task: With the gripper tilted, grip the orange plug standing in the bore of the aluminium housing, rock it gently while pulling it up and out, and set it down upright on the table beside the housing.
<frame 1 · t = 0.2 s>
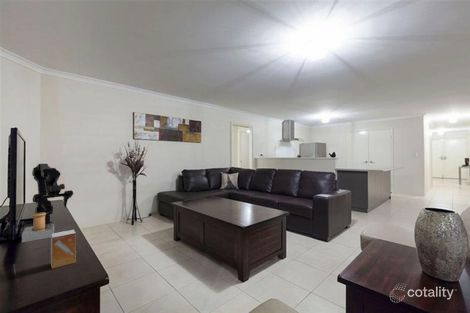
hand: (56, 208, 131), 15 cm above the tv stand, tool tilted 35°, fingers open, 9 cm apart
small box: (63, 263, 94), on the tv stand
housing: (39, 236, 126), on the tv stand
plug: (39, 225, 126), in the housing
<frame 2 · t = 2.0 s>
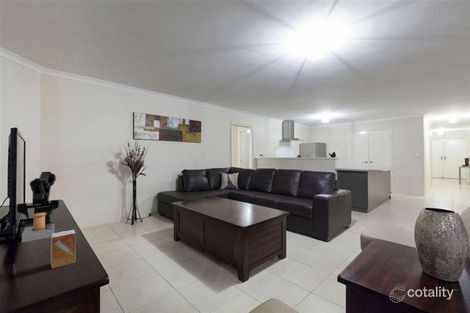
hand: (39, 217, 128), 10 cm above the tv stand, tool tilted 45°, fingers open, 9 cm apart
nothing on the tv stand moved.
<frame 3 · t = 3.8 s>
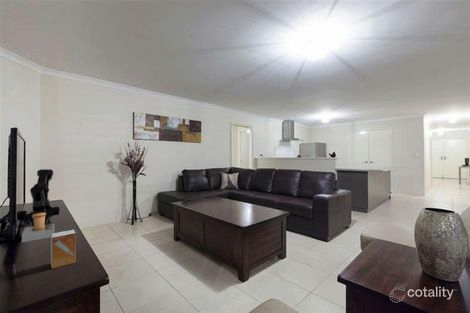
hand: (39, 225, 125), 7 cm above the tv stand, tool tilted 45°, fingers closed on plug, 5 cm apart
plug: (39, 225, 126), in the housing, touching gripper
everything else where it was.
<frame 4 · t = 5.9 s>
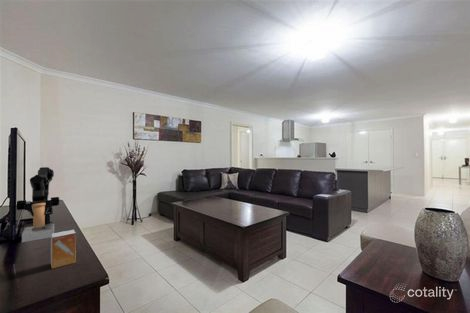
hand: (39, 215, 125), 12 cm above the tv stand, tool tilted 45°, fingers closed on plug, 5 cm apart
plug: (39, 214, 126), point 12 cm above the tv stand, touching gripper
everything else where it was.
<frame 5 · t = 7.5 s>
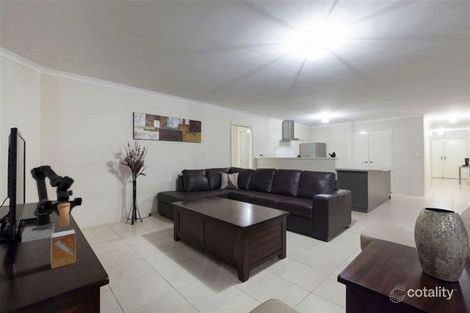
hand: (64, 214, 130), 11 cm above the tv stand, tool tilted 45°, fingers closed on plug, 5 cm apart
plug: (64, 214, 131), point 11 cm above the tv stand, touching gripper
everything else where it was.
when the fingers open (8 cm above the tv stand, at t = 8.5 s): plug drops 1 cm, on the tv stand.
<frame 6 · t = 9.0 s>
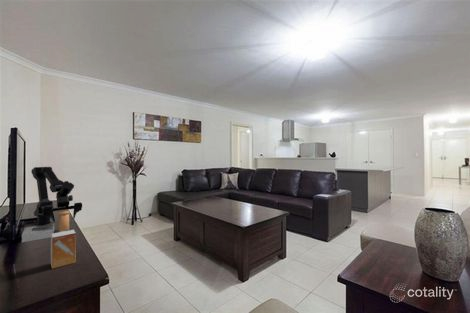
hand: (64, 220, 130), 8 cm above the tv stand, tool tilted 45°, fingers open, 9 cm apart
plug: (64, 222, 131), on the tv stand
everything else where it was.
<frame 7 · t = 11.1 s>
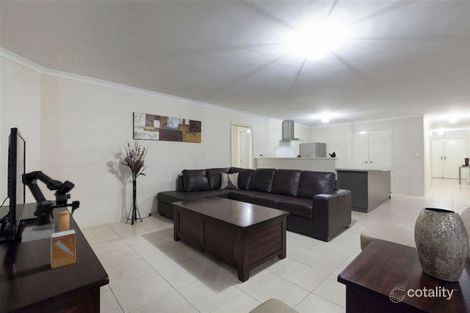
hand: (62, 217, 136), 8 cm above the tv stand, tool tilted 45°, fingers open, 9 cm apart
nothing on the tv stand moved.
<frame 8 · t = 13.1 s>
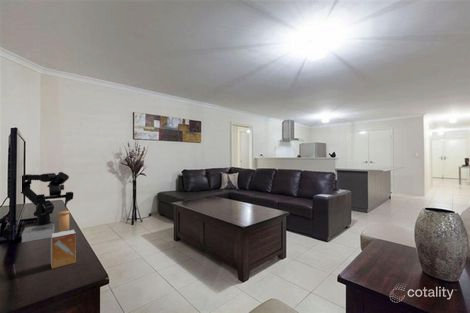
hand: (56, 207, 138), 14 cm above the tv stand, tool tilted 45°, fingers open, 9 cm apart
nothing on the tv stand moved.
at the end: plug inside the target area (0.0 cm from its centre), on the tv stand; plug tilted 0°; the gripper is holding nothing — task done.
